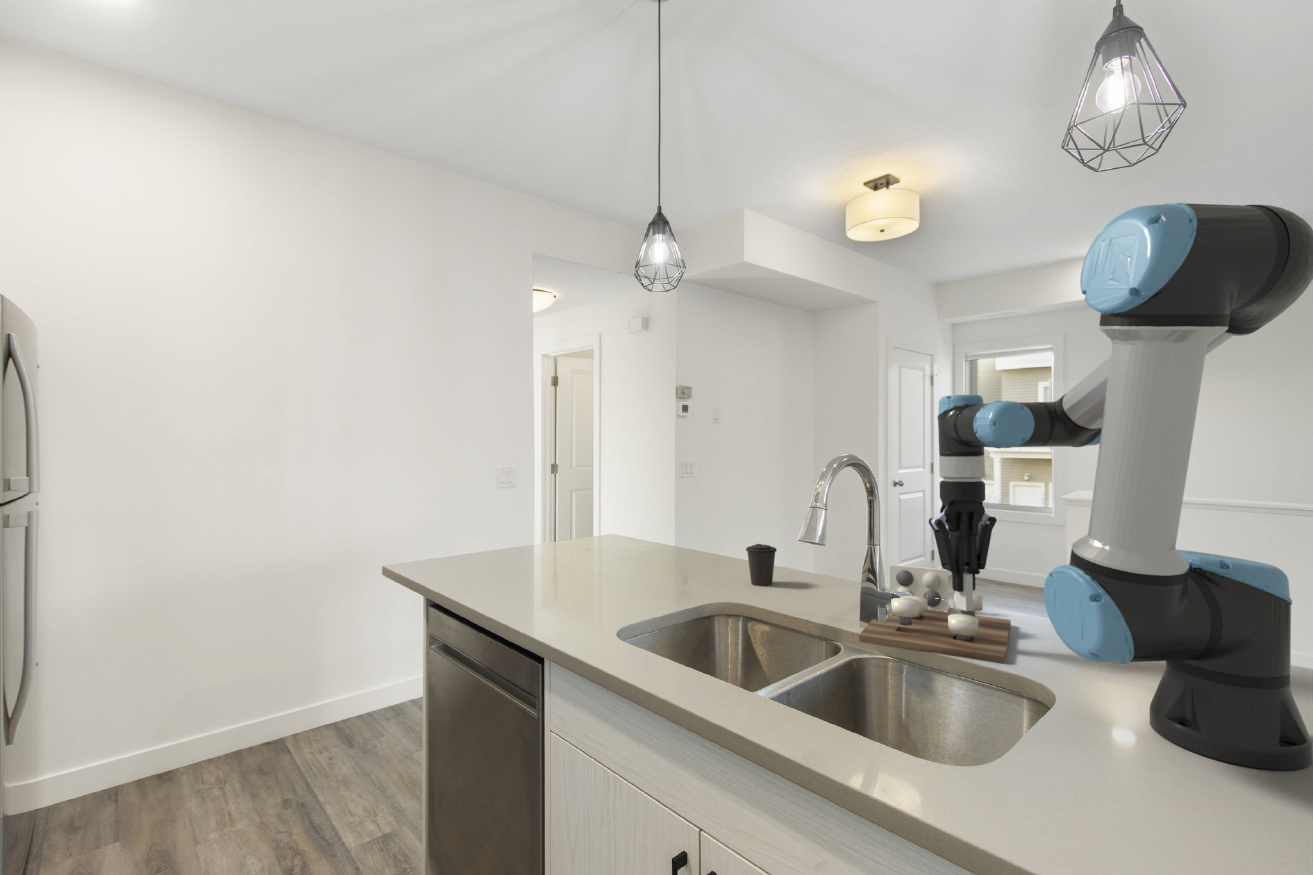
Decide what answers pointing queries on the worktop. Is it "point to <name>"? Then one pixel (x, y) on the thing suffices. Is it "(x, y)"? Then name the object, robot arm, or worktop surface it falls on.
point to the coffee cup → (761, 564)
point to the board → (942, 636)
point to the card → (922, 584)
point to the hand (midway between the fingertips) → (964, 608)
